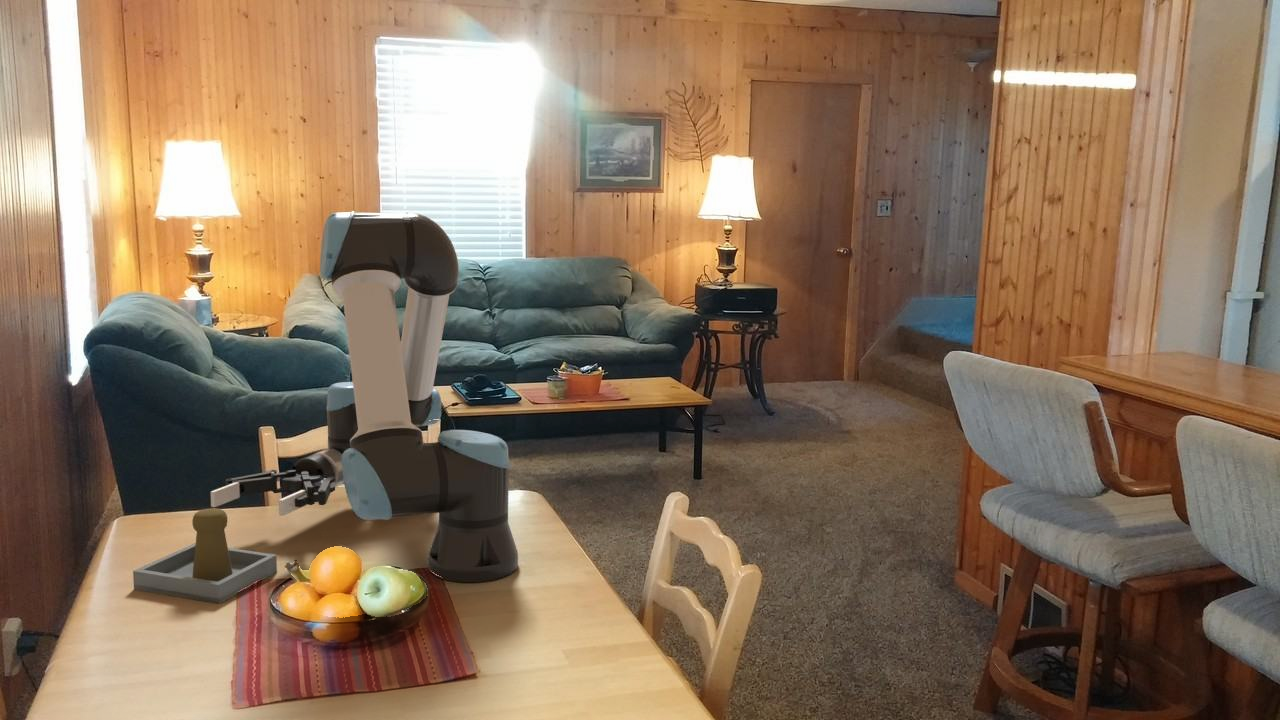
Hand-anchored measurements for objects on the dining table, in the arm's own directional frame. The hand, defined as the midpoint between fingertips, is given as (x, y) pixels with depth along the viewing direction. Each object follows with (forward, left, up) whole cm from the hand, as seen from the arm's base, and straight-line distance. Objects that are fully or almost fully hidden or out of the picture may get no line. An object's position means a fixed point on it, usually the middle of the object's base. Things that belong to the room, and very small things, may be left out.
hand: (246, 503), depth 172 cm
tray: (0, +11, -10) cm, 14 cm away
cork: (-1, +10, -9) cm, 14 cm away
